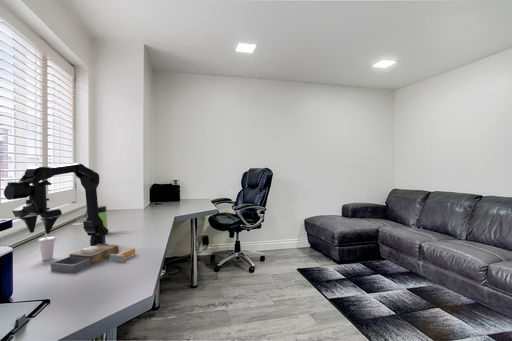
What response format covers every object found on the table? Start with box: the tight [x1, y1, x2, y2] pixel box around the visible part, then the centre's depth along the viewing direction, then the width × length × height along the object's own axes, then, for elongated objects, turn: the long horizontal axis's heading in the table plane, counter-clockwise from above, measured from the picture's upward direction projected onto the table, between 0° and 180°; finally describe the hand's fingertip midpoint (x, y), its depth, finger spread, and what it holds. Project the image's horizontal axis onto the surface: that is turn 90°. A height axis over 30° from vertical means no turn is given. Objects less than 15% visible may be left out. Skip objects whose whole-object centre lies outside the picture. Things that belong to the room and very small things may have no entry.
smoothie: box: [37, 231, 56, 261], centre depth 120 cm, size 6×6×14 cm
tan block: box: [68, 243, 120, 266], centre depth 119 cm, size 15×12×4 cm
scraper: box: [109, 247, 136, 263], centre depth 118 cm, size 10×7×3 cm
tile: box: [80, 246, 99, 254], centre depth 117 cm, size 5×5×2 cm
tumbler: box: [98, 205, 108, 229], centre depth 164 cm, size 8×8×17 cm
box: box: [50, 256, 92, 274], centre depth 108 cm, size 8×12×3 cm, turn 74°
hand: (39, 233), depth 110 cm, fingers open, 9 cm apart
